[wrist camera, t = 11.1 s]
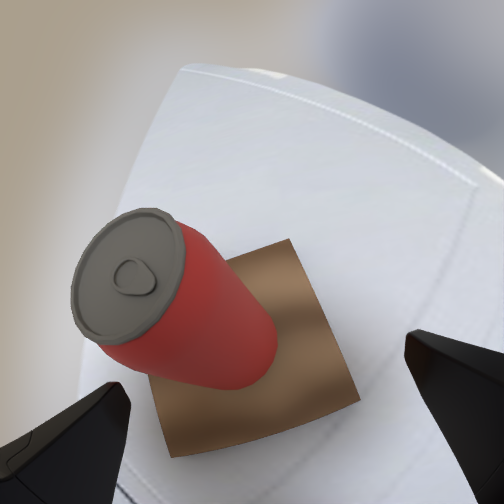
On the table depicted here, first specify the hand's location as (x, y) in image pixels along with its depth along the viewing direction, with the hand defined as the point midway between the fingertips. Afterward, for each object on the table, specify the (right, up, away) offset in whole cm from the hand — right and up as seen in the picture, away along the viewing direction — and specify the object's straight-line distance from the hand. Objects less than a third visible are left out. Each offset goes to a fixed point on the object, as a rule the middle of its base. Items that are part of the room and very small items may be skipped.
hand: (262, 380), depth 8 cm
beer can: (-1, -3, +12) cm, 12 cm away
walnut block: (-1, -4, +14) cm, 15 cm away
